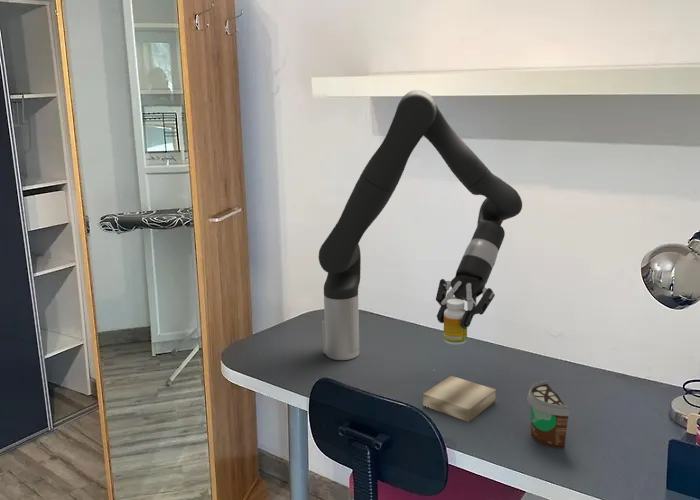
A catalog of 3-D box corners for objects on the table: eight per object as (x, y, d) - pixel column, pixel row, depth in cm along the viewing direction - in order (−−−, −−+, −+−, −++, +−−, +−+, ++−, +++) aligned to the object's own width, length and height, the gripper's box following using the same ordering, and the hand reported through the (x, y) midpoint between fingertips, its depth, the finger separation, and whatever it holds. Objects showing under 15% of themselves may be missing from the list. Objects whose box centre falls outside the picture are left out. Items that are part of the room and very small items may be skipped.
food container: (517, 422, 146) (519, 380, 143) (544, 421, 146) (547, 379, 143) (537, 453, 134) (540, 408, 131) (567, 451, 134) (570, 406, 132)
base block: (423, 405, 154) (423, 393, 153) (450, 387, 163) (451, 375, 162) (468, 421, 146) (469, 409, 146) (495, 401, 155) (495, 389, 154)
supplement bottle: (466, 345, 153) (467, 305, 150) (443, 344, 154) (443, 304, 151) (467, 336, 158) (467, 297, 155) (444, 335, 159) (444, 297, 156)
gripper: (445, 249, 161) (418, 310, 155) (500, 258, 152) (473, 323, 146) (456, 265, 166) (430, 325, 160) (510, 275, 157) (484, 338, 151)
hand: (451, 324), depth 153 cm, fingers closed on supplement bottle, 5 cm apart
